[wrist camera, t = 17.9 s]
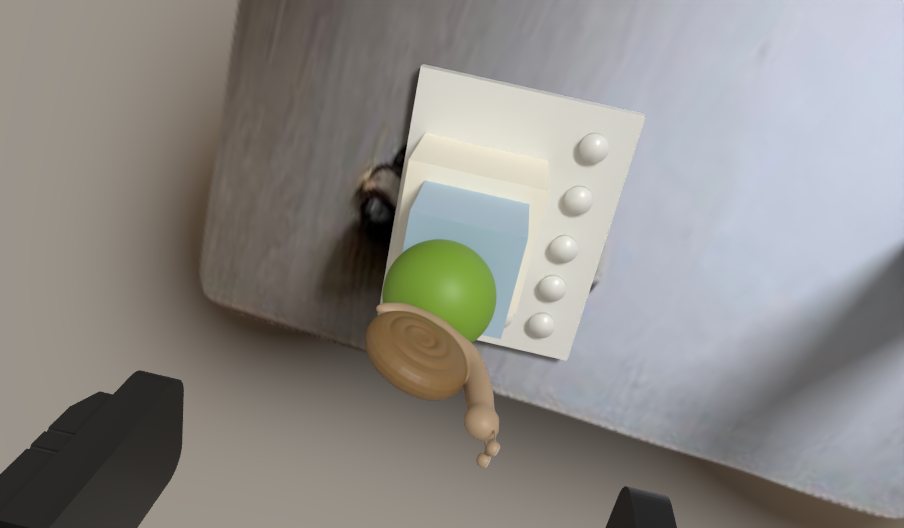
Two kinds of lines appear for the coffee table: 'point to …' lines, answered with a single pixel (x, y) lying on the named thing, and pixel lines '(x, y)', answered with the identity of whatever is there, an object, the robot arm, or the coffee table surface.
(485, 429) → the snail figurine
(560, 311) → the build plate
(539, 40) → the coffee table surface
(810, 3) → the coffee table surface
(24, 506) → the robot arm
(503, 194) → the base brick
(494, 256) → the blue brick
